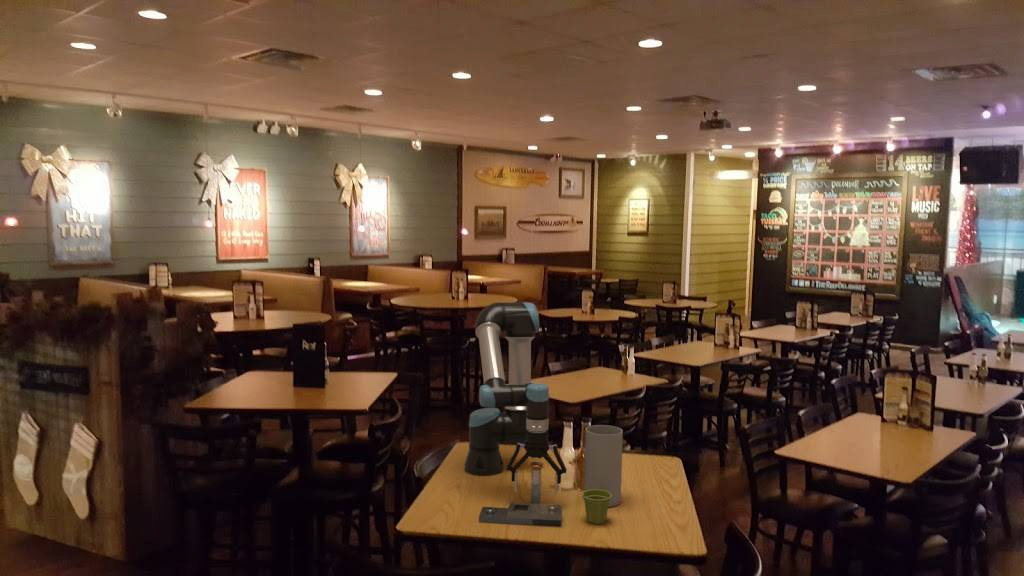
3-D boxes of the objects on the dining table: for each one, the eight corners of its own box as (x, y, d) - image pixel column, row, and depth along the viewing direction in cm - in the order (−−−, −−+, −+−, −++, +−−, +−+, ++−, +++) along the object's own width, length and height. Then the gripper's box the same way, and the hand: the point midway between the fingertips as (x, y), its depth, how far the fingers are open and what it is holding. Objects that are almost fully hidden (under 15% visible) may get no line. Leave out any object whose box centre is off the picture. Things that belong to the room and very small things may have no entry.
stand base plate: (478, 522, 234) (479, 507, 234) (482, 512, 242) (482, 498, 242) (560, 526, 232) (561, 511, 231) (562, 517, 239) (562, 502, 239)
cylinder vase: (593, 492, 263) (595, 423, 261) (626, 499, 256) (628, 428, 254) (578, 503, 252) (579, 431, 250) (612, 510, 245) (613, 437, 244)
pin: (527, 503, 251) (527, 463, 250) (537, 500, 254) (537, 461, 252) (534, 507, 248) (535, 466, 247) (544, 504, 250) (545, 464, 249)
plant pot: (587, 527, 231) (588, 500, 230) (577, 516, 240) (577, 490, 239) (615, 525, 234) (616, 498, 233) (604, 514, 243) (604, 488, 242)
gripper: (498, 431, 246) (498, 493, 248) (573, 434, 244) (572, 497, 245) (501, 425, 254) (500, 486, 255) (574, 428, 251) (573, 489, 253)
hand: (536, 491), depth 250 cm, fingers open, 13 cm apart
